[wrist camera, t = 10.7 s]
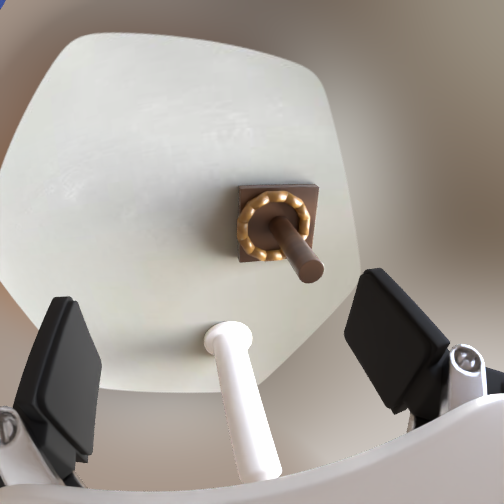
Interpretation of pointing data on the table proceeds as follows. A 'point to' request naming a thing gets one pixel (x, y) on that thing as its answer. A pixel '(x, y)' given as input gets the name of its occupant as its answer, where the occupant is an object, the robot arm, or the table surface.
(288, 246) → the post
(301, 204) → the ring
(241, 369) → the candle
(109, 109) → the table surface
